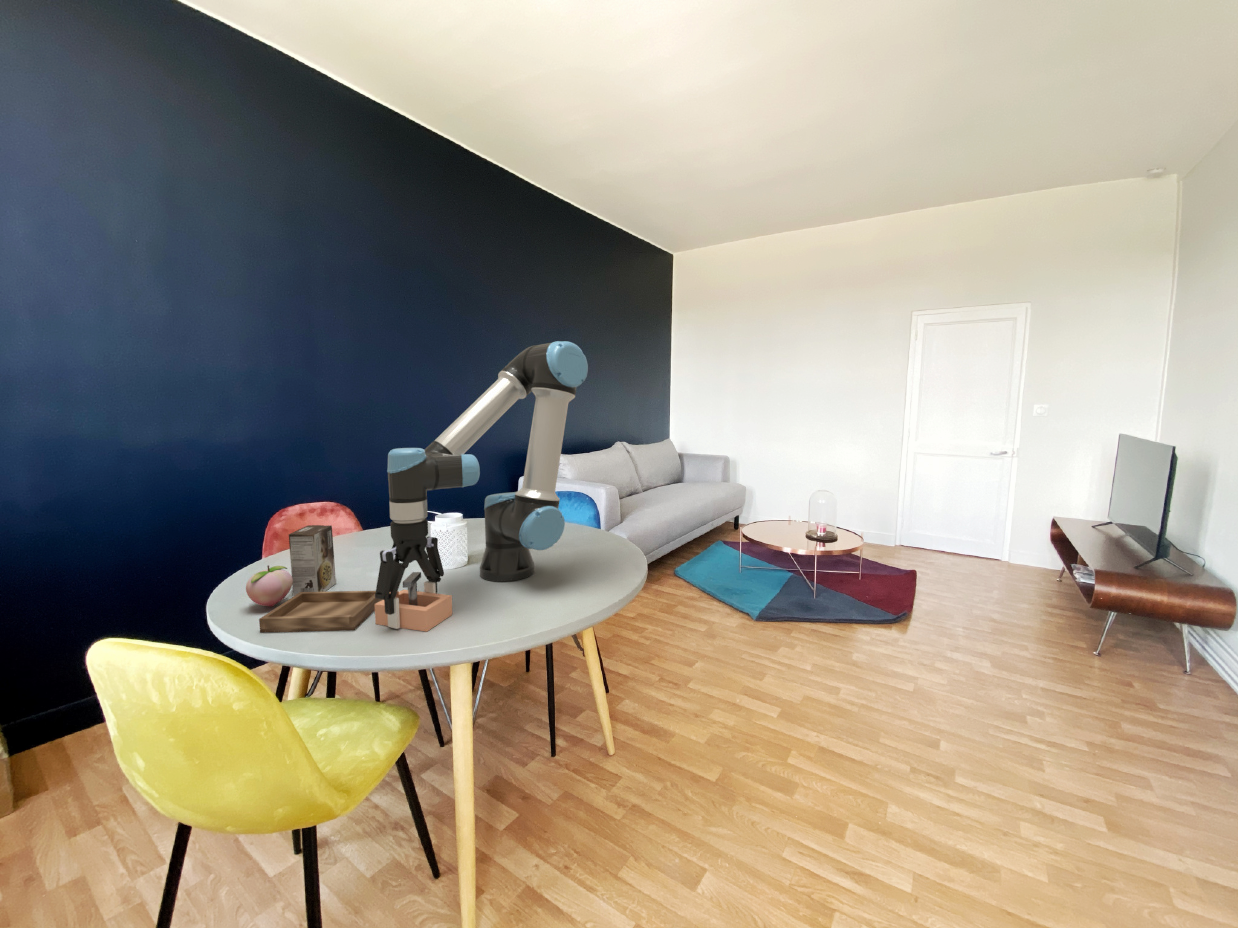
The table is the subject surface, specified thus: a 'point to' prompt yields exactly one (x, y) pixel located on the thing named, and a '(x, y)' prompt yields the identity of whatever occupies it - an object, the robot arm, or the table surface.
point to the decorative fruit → (269, 586)
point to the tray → (320, 612)
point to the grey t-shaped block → (412, 587)
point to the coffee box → (312, 559)
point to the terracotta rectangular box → (418, 610)
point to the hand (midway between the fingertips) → (413, 617)
